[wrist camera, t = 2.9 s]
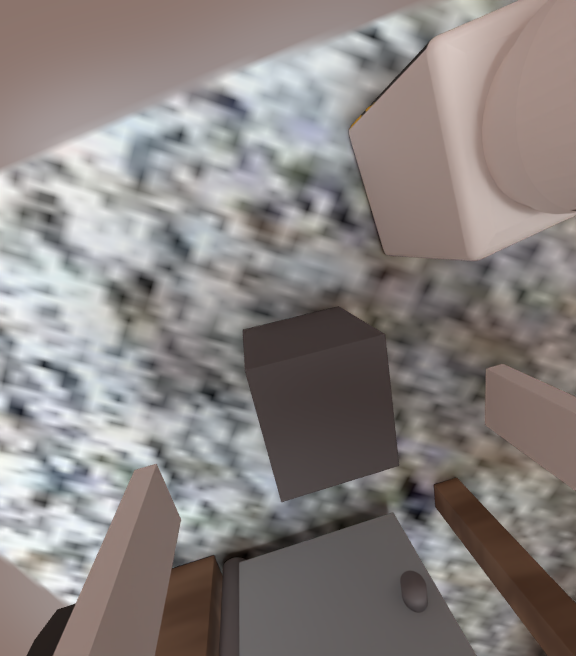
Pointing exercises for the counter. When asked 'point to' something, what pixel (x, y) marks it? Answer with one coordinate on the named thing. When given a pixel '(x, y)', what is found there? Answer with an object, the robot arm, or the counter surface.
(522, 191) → the medicine bottle
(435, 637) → the door
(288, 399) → the dark grey block
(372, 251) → the counter surface
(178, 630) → the doorframe
